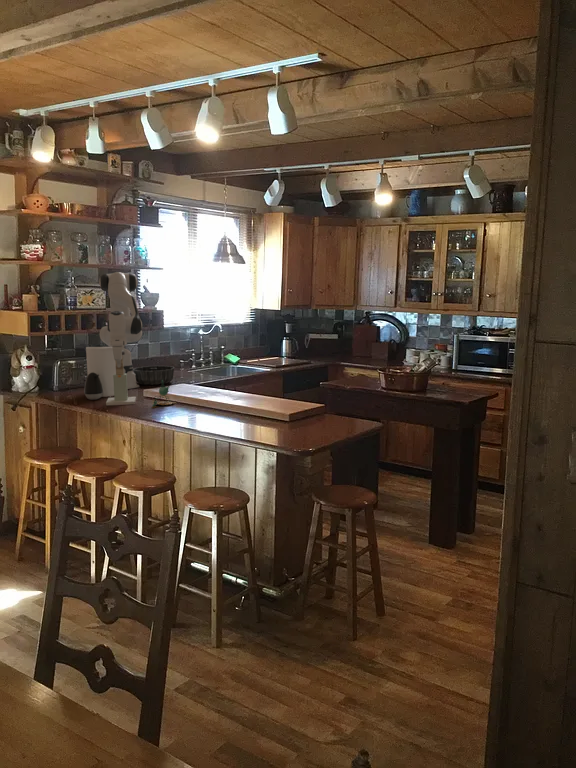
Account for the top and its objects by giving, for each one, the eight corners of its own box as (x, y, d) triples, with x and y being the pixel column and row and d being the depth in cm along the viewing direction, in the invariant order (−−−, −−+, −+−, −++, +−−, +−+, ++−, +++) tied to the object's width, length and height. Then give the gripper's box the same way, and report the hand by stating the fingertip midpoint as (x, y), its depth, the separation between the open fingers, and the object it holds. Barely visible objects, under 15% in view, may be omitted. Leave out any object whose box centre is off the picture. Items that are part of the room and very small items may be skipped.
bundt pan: (124, 385, 432) (124, 369, 430) (148, 379, 456) (148, 364, 454) (160, 387, 422) (159, 371, 420) (182, 381, 446) (182, 366, 444)
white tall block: (114, 396, 393) (112, 348, 389) (84, 396, 394) (81, 348, 389) (122, 391, 410) (120, 345, 406) (93, 391, 411) (91, 345, 406)
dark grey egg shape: (92, 401, 380) (90, 374, 377) (81, 399, 386) (79, 372, 384) (107, 398, 388) (105, 372, 385) (95, 396, 394) (94, 370, 392)
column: (116, 397, 378) (113, 351, 374) (127, 397, 379) (124, 351, 375) (115, 399, 372) (112, 352, 368) (126, 399, 373) (124, 352, 369)
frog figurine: (143, 407, 363) (144, 379, 362) (170, 405, 376) (171, 378, 375) (154, 409, 356) (155, 380, 355) (181, 407, 370) (182, 380, 368)
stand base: (108, 400, 382) (107, 372, 379) (136, 399, 384) (134, 372, 382) (106, 405, 367) (104, 376, 365) (134, 404, 370) (133, 375, 367)
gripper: (113, 339, 380) (115, 364, 382) (110, 343, 360) (112, 369, 362) (125, 339, 381) (126, 364, 383) (122, 343, 361) (124, 368, 363)
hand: (119, 366), depth 373 cm, fingers closed on column, 4 cm apart
